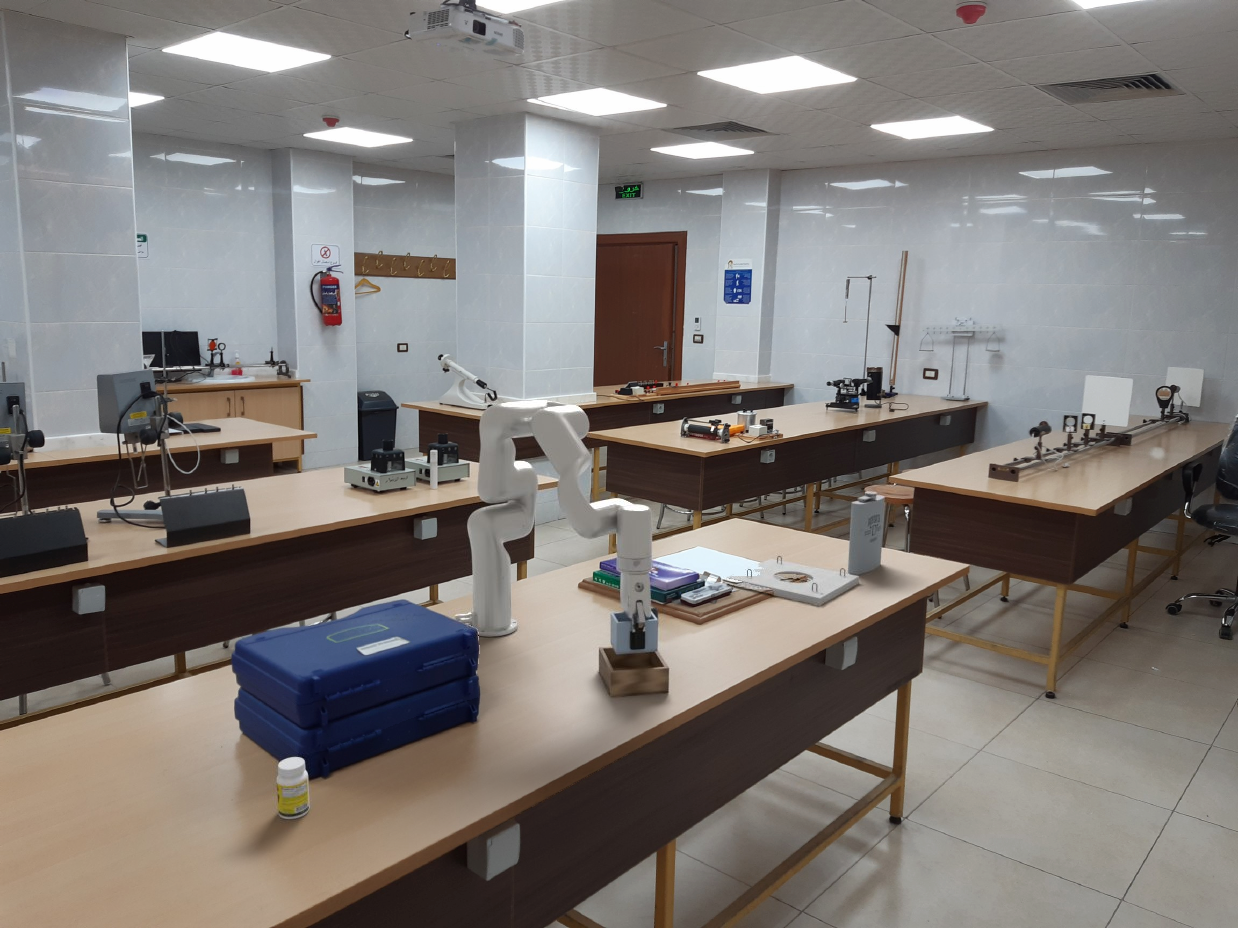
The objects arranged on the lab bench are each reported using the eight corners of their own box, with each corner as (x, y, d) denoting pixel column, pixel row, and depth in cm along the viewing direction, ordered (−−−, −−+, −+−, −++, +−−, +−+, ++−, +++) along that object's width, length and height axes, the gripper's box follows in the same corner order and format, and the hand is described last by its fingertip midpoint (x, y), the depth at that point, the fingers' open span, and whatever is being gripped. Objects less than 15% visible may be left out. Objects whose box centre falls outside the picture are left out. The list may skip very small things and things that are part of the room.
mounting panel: (820, 590, 238) (727, 569, 257) (819, 607, 239) (726, 586, 257) (859, 568, 259) (770, 551, 277) (858, 584, 260) (770, 566, 278)
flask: (859, 575, 267) (864, 496, 263) (846, 572, 270) (850, 494, 266) (884, 564, 280) (889, 488, 276) (871, 561, 283) (876, 486, 279)
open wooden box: (610, 697, 180) (610, 672, 179) (598, 670, 194) (598, 647, 193) (668, 692, 183) (669, 667, 182) (652, 666, 196) (653, 643, 195)
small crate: (616, 654, 183) (616, 622, 181) (610, 643, 189) (610, 612, 188) (657, 651, 184) (657, 619, 183) (650, 640, 191) (650, 610, 189)
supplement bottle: (283, 803, 140) (280, 755, 138) (313, 802, 140) (310, 754, 139) (274, 820, 135) (271, 771, 134) (305, 819, 135) (302, 770, 134)
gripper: (661, 573, 176) (660, 656, 179) (642, 551, 193) (641, 628, 196) (625, 575, 174) (625, 659, 177) (609, 553, 191) (609, 630, 194)
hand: (633, 642), depth 186 cm, fingers closed on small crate, 6 cm apart
